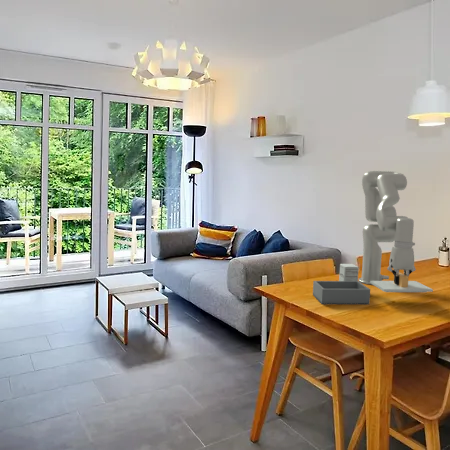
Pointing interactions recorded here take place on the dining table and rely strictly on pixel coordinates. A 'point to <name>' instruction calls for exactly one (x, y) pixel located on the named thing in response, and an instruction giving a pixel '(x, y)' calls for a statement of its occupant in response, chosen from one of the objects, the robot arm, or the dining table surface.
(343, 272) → the supplement box
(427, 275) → the dining table surface
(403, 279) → the lid
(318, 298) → the tub
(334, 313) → the dining table surface
